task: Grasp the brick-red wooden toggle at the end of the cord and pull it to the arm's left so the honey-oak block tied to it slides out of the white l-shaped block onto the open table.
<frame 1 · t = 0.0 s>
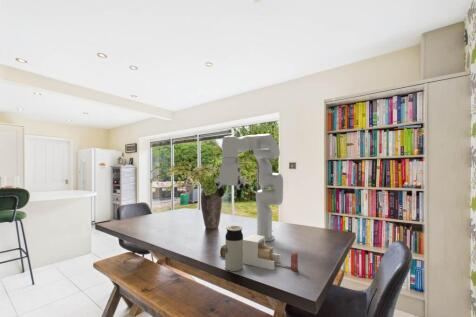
hand: (229, 197, 108), 31 cm above the table, fingers open, 9 cm apart
travel mug: (234, 268, 102), on the table
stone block: (231, 257, 115), on the table
white l-shaped block: (263, 262, 108), on the table
oak block with cord: (263, 262, 108), on the table
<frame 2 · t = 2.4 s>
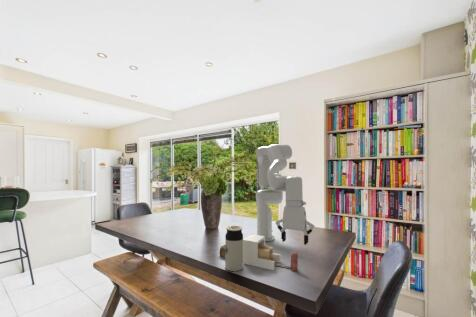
hand: (294, 242, 101), 12 cm above the table, fingers open, 9 cm apart
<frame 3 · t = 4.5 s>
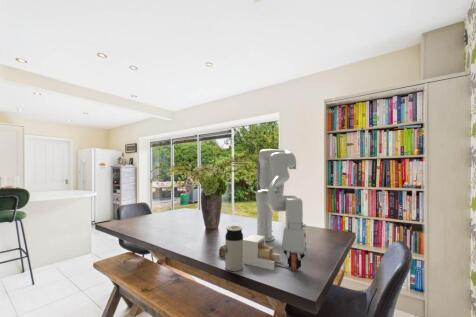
hand: (294, 266, 101), 1 cm above the table, fingers closed on oak block with cord, 3 cm apart
oak block with cord: (263, 262, 108), on the table, touching gripper
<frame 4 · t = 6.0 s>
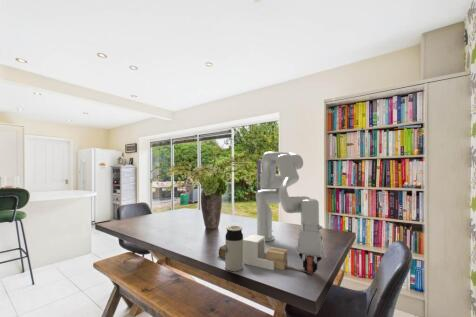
hand: (310, 270, 97), 1 cm above the table, fingers closed on oak block with cord, 3 cm apart
oak block with cord: (277, 265, 105), on the table, touching gripper
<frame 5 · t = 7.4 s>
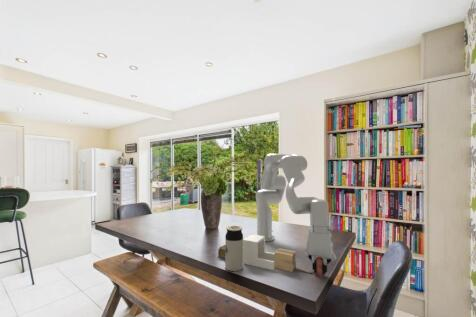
hand: (319, 272, 95), 1 cm above the table, fingers closed on oak block with cord, 3 cm apart
oak block with cord: (285, 267, 103), on the table, touching gripper
when the fingers open (1 cm above the table, at t = 7.9 s): oak block with cord stays where it is, on the table.
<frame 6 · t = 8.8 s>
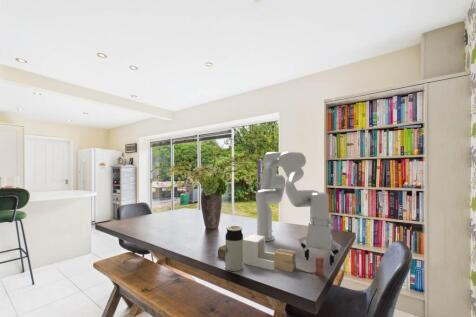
hand: (319, 261, 96), 5 cm above the table, fingers open, 9 cm apart
oak block with cord: (285, 267, 103), on the table
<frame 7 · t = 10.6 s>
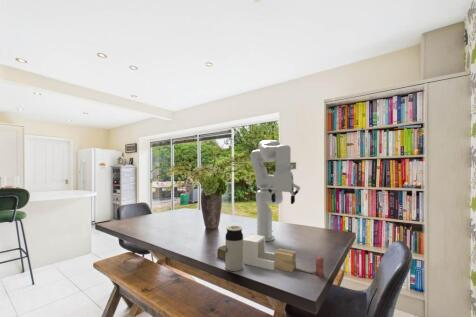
hand: (282, 202, 115), 28 cm above the table, fingers open, 9 cm apart
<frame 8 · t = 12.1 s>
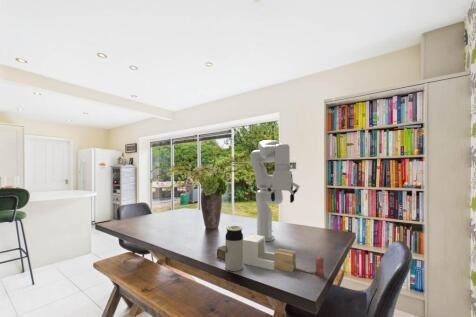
hand: (282, 201, 115), 28 cm above the table, fingers open, 9 cm apart
at the end: oak block with cord inside the target area (3.2 cm from its centre), on the table; oak block with cord moved 10.8 cm from its start; the gripper is holding nothing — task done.
